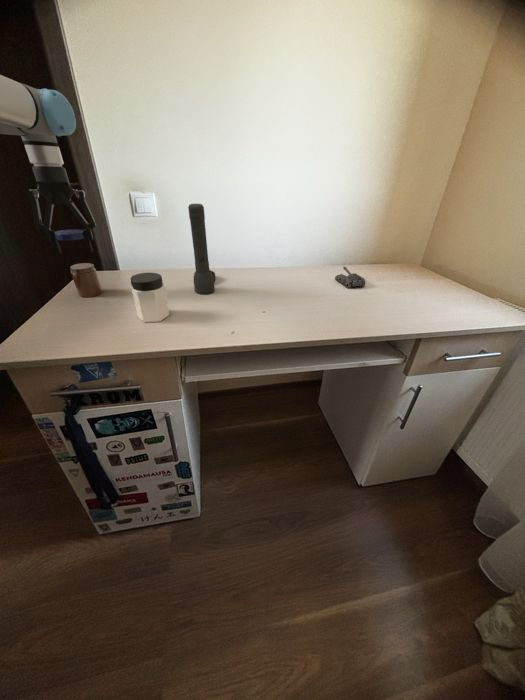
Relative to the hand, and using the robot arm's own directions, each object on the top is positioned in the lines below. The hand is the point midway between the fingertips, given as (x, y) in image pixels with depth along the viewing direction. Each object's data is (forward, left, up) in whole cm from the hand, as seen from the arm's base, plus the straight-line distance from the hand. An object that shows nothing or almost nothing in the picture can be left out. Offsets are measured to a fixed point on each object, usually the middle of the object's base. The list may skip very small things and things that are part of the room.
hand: (75, 252), depth 88 cm
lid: (0, 0, +6) cm, 6 cm away
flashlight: (+35, -17, -14) cm, 41 cm away
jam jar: (+1, +1, -14) cm, 14 cm away
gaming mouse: (+40, -9, -14) cm, 43 cm away
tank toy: (+88, -41, -14) cm, 98 cm away
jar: (+13, -28, -14) cm, 33 cm away
